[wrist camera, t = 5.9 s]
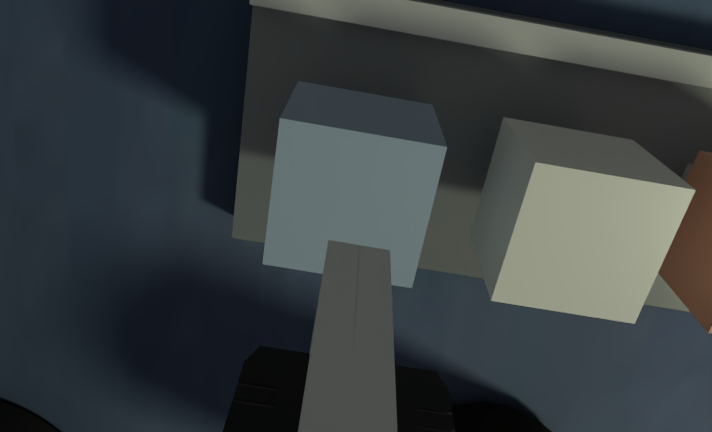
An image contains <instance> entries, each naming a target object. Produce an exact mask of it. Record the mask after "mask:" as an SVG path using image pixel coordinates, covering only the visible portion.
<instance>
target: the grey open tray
mask: <svg viewBox="0 0 712 432" xmlns="http://www.w3.org/2000/svg"><path fill="white" fill-rule="evenodd" d="M249 4H250V5H253V9H252V20H251V31H250V42H249V53H248V64H247V75H246V86H245V98H244V109H243V120H242V131H241V142H240V153H239V164H238V175H237V186H236V197H235V208H234V220H233V231H232V238H237V239H243V240H249V241H255V242H262V243H265V239H266V230H267V222H268V213H269V205H270V197H271V188H272V180H273V171H274V163H275V154H276V146H277V137H278V129H279V120H280V117H281V115H282V113H283V111H284V109H285V107H286V105H287V103H288V101H289V99H290V97H291V95H292V93H293V91H294V89H295V87H296V85H297V83H298V81H302V82H307V83H313V84H319V85H324V86H330V87H336V88H341V89H347V90H353V91H358V92H364V93H370V94H375V95H381V96H387V97H392V98H398V99H404V100H409V101H415V102H421V103H426V104H432V105H433V107H434V110H435V113H436V116H437V119H438V122H439V125H440V128H441V130H442V133H443V136H444V139H445V142H446V145H447V150H446V154H445V158H444V162H443V166H442V170H441V174H440V178H439V182H438V186H437V190H436V194H435V198H434V202H433V206H432V210H431V214H430V218H429V222H428V226H427V230H426V234H425V238H424V242H423V246H422V250H421V254H420V258H419V262H418V266H417V268H422V269H428V270H435V271H441V272H447V273H453V274H459V275H465V276H472V277H478V278H483V275H482V271H481V268H480V265H479V262H478V259H477V256H476V253H475V250H474V246H473V243H472V240H471V237H470V232H471V229H472V225H473V222H474V218H475V215H476V211H477V208H478V204H479V201H480V197H481V194H482V190H483V187H484V183H485V180H486V176H487V173H488V169H489V166H490V162H491V159H492V155H493V152H494V148H495V145H496V141H497V138H498V134H499V131H500V127H501V124H502V121H503V117H506V118H512V119H517V120H523V121H529V122H534V123H540V124H546V125H551V126H557V127H563V128H568V129H574V130H580V131H585V132H591V133H597V134H602V135H608V136H614V137H620V138H625V139H631V140H634V141H635V142H636V143H638V144H639V145H640V146H641V147H643V148H644V149H645V150H646V151H648V152H649V153H650V154H651V155H653V156H654V157H655V158H656V159H658V160H659V161H660V162H661V163H663V164H664V165H665V166H666V167H668V168H669V169H670V170H671V171H673V172H674V173H675V174H676V175H678V176H679V177H680V178H681V179H683V180H684V181H686V179H687V177H688V175H689V172H690V170H691V168H692V166H693V163H694V161H695V159H696V157H697V154H698V152H699V150H700V151H705V152H711V153H712V50H707V49H702V48H697V47H691V46H686V45H680V44H675V43H670V42H664V41H659V40H653V39H648V38H643V37H637V36H632V35H626V34H621V33H616V32H610V31H605V30H599V29H594V28H589V27H583V26H578V25H572V24H567V23H562V22H556V21H551V20H545V19H540V18H535V17H529V16H524V15H518V14H513V13H508V12H502V11H497V10H491V9H486V8H480V7H475V6H470V5H464V4H459V3H453V2H448V1H443V0H250V2H249ZM644 305H651V306H657V307H663V308H669V309H675V310H682V311H688V312H690V311H689V309H688V308H687V307H686V306H685V305H684V304H683V302H682V301H681V300H680V299H679V298H678V296H677V295H676V294H675V293H674V292H673V290H672V289H671V288H670V287H669V286H668V284H667V283H666V282H665V281H664V280H663V278H662V277H661V276H660V275H659V274H657V276H656V278H655V280H654V283H653V285H652V287H651V289H650V291H649V294H648V296H647V298H646V300H645V302H644Z"/></svg>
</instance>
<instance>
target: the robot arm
mask: <svg viewBox="0 0 712 432" xmlns="http://www.w3.org/2000/svg"><path fill="white" fill-rule="evenodd" d="M0 432H58V431H57V430H55V429H54V428H53V427H51V426H50V425H48V424H47V423H45V422H44V421H42V420H41V419H39V418H37V417H35V416H34V415H32V414H30V413H28V412H26V411H24V410H21V409H19V408H17V407H14V406H12V405H9V404H7V403H4V402H1V401H0ZM223 432H455V425H454V419H453V417H452V406H451V400H450V393H449V391H448V389H447V388H446V386H445V385H444V383H443V381H442V380H441V378H440V377H439V375H438V374H437V372H434V371H428V370H421V369H415V368H408V367H402V366H396V365H395V360H394V335H393V311H392V286H391V262H390V250H386V249H380V248H374V247H368V246H362V245H356V244H350V243H344V242H338V241H332V240H328V246H327V251H326V257H325V263H324V269H323V275H322V281H321V287H320V292H319V298H318V304H317V310H316V316H315V322H314V327H313V333H312V340H311V346H310V352H309V353H302V352H296V351H289V350H283V349H277V348H270V347H264V346H260V347H259V348H258V349H257V350H256V351H255V352H254V353H253V354H252V355H251V356H250V357H249V358H248V359H247V360H245V361H244V365H243V368H242V371H241V374H240V378H239V381H238V385H237V387H236V391H235V394H234V397H233V402H232V404H231V407H230V410H229V413H228V417H227V420H226V423H225V426H224V430H223Z"/></svg>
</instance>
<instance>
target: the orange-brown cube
mask: <svg viewBox="0 0 712 432" xmlns="http://www.w3.org/2000/svg"><path fill="white" fill-rule="evenodd" d="M685 182H686V183H688V184H689V185H690V186H692V187H693V188H694V189H695V190H696V191H695V193H694V195H693V197H692V200H691V202H690V204H689V206H688V208H687V210H686V213H685V215H684V217H683V219H682V221H681V224H680V226H679V228H678V230H677V232H676V235H675V237H674V239H673V241H672V243H671V245H670V248H669V250H668V252H667V254H666V256H665V259H664V261H663V263H662V265H661V267H660V269H659V272H658V274H659V275H660V276H661V277H662V278H663V280H664V281H665V282H666V283H667V284H668V286H669V287H670V288H671V289H672V290H673V292H674V293H675V294H676V295H677V296H678V298H679V299H680V300H681V301H682V302H683V304H684V305H685V306H686V307H687V308H688V309H689V311H690V312H691V313H692V314H693V315H694V317H695V318H696V319H697V320H698V321H699V323H700V324H701V325H702V326H703V327H704V329H705V330H706V331H707V332H708V333H712V153H711V152H705V151H700V150H699V152H698V154H697V157H696V159H695V161H694V163H693V166H692V168H691V170H690V172H689V175H688V177H687V179H686V181H685Z"/></svg>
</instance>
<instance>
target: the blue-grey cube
mask: <svg viewBox="0 0 712 432" xmlns="http://www.w3.org/2000/svg"><path fill="white" fill-rule="evenodd" d="M446 150H447V145H446V142H445V139H444V136H443V133H442V130H441V128H440V125H439V122H438V119H437V116H436V113H435V110H434V107H433V105H432V104H426V103H421V102H415V101H409V100H404V99H398V98H392V97H387V96H381V95H375V94H370V93H364V92H358V91H353V90H347V89H341V88H336V87H330V86H324V85H319V84H313V83H307V82H302V81H298V83H297V85H296V87H295V89H294V91H293V93H292V95H291V97H290V99H289V101H288V103H287V105H286V107H285V109H284V111H283V113H282V115H281V117H280V120H279V129H278V137H277V146H276V154H275V163H274V171H273V180H272V188H271V197H270V205H269V213H268V222H267V230H266V239H265V247H264V256H263V264H265V265H271V266H277V267H283V268H290V269H296V270H302V271H308V272H315V273H321V274H323V269H324V263H325V257H326V251H327V246H328V240H332V241H338V242H344V243H350V244H356V245H362V246H368V247H374V248H380V249H386V250H390V262H391V285H396V286H402V287H408V288H412V286H413V282H414V278H415V274H416V270H417V266H418V262H419V258H420V254H421V250H422V246H423V242H424V238H425V234H426V230H427V226H428V222H429V218H430V214H431V210H432V206H433V202H434V198H435V194H436V190H437V186H438V182H439V178H440V174H441V170H442V166H443V162H444V158H445V154H446Z"/></svg>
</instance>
